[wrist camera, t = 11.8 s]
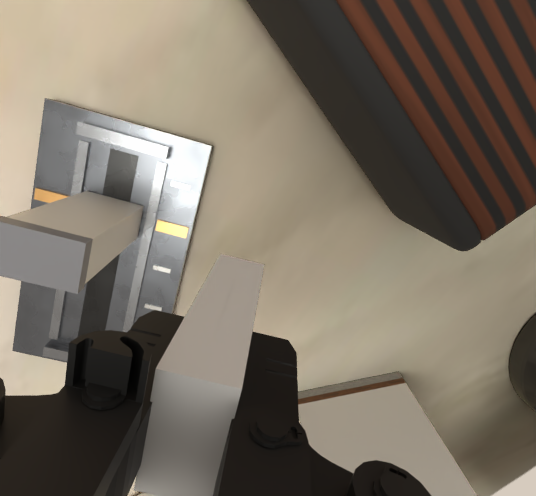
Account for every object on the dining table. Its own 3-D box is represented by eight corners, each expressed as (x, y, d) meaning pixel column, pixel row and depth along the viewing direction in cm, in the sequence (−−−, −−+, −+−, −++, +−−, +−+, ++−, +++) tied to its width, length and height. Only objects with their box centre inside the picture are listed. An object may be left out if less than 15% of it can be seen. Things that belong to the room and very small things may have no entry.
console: (158, 372, 41) (152, 388, 39) (21, 343, 40) (5, 357, 37) (213, 145, 35) (210, 146, 33) (53, 99, 34) (37, 96, 31)
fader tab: (138, 239, 36) (77, 293, 23) (79, 224, 35) (-15, 272, 23) (145, 205, 35) (86, 243, 22) (85, 189, 34) (-10, 219, 22)
